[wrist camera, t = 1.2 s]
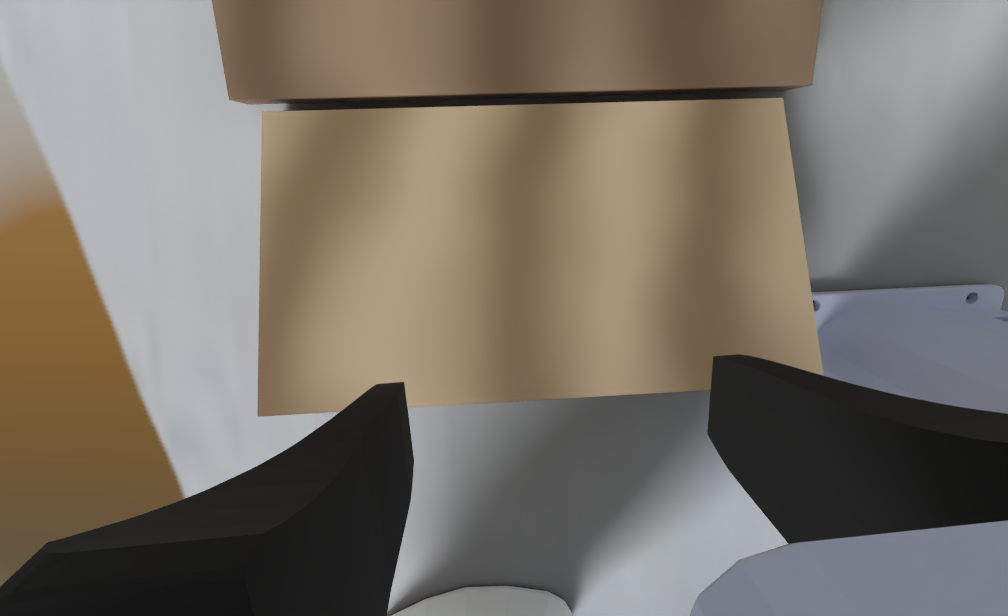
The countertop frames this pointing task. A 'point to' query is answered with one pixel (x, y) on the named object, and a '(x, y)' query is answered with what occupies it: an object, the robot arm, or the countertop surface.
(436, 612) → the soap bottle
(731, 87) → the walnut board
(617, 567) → the countertop surface
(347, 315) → the oak plank
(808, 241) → the countertop surface
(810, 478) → the robot arm
